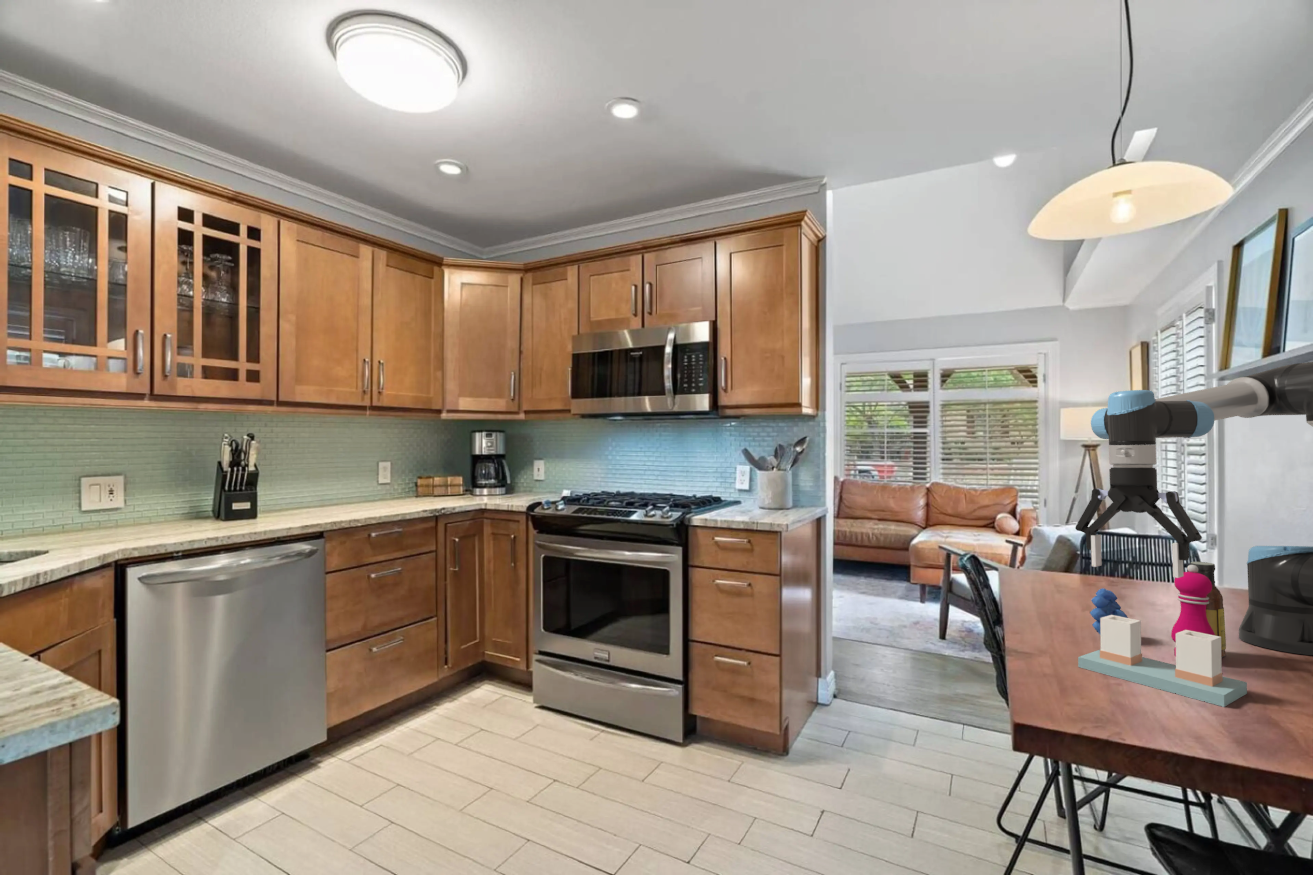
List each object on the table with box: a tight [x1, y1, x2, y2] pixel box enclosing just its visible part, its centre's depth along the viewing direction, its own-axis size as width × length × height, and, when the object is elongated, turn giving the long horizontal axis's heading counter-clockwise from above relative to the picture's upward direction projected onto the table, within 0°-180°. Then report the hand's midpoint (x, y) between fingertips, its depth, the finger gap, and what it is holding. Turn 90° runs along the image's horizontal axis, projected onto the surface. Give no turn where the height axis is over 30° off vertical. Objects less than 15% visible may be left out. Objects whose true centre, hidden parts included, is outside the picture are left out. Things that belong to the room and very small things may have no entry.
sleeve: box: [1099, 615, 1143, 666], centre depth 119 cm, size 5×5×8 cm
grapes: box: [1089, 587, 1129, 637], centre depth 139 cm, size 12×7×12 cm, turn 123°
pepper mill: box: [1170, 564, 1215, 658], centre depth 126 cm, size 7×7×20 cm
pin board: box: [1077, 648, 1248, 708], centre depth 114 cm, size 12×22×6 cm, turn 32°
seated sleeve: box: [1175, 630, 1224, 687], centre depth 109 cm, size 5×5×8 cm
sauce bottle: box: [1189, 561, 1227, 658], centre depth 130 cm, size 7×6×20 cm
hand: (1135, 571), depth 120 cm, fingers open, 13 cm apart
